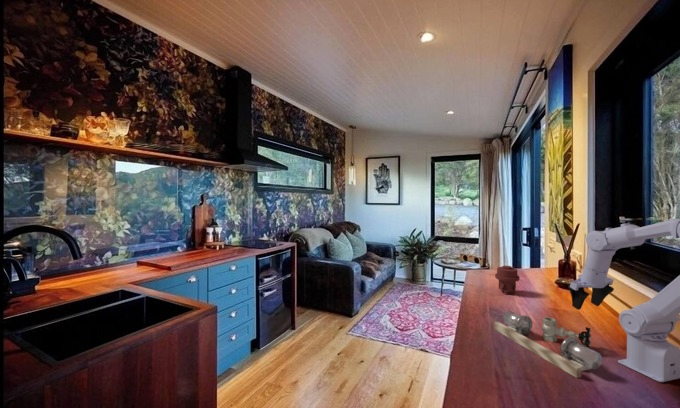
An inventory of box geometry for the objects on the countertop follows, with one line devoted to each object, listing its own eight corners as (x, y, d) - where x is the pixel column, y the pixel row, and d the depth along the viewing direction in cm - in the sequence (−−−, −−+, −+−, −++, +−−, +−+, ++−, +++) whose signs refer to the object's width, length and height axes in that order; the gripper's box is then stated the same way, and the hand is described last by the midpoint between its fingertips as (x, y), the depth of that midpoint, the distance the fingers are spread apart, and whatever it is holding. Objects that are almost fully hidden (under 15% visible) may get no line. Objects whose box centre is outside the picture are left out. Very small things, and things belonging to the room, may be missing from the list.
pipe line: (604, 372, 79) (604, 347, 79) (586, 376, 78) (586, 351, 77) (515, 325, 107) (515, 307, 107) (501, 328, 106) (501, 309, 106)
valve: (540, 341, 96) (588, 354, 88) (539, 320, 96) (588, 331, 88) (544, 334, 101) (590, 345, 93) (544, 314, 101) (590, 324, 93)
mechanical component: (507, 297, 136) (490, 290, 146) (524, 294, 139) (506, 288, 149) (507, 270, 136) (490, 265, 145) (524, 267, 139) (506, 263, 148)
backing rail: (581, 376, 77) (581, 367, 77) (576, 377, 77) (576, 368, 77) (497, 328, 105) (497, 321, 105) (493, 329, 105) (493, 321, 105)
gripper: (600, 259, 99) (590, 296, 103) (565, 264, 96) (556, 301, 99) (625, 270, 92) (613, 308, 96) (587, 275, 89) (576, 315, 93)
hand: (585, 306), depth 97 cm, fingers open, 7 cm apart
